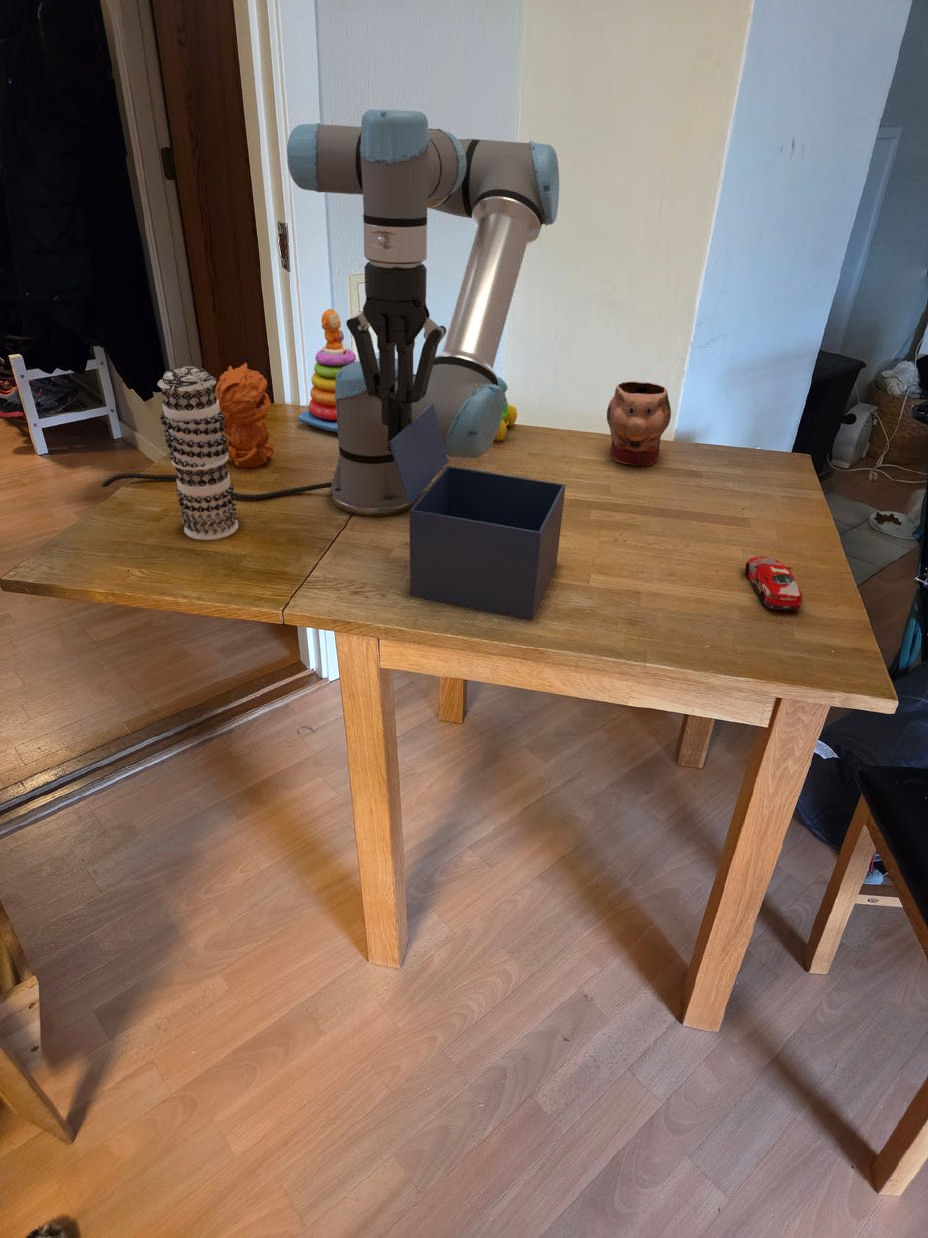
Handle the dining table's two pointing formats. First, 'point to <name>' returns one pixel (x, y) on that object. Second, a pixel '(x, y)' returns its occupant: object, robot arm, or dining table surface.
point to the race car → (774, 583)
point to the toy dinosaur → (245, 415)
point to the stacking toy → (327, 375)
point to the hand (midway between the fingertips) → (396, 448)
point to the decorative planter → (638, 422)
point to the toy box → (485, 541)
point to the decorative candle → (198, 452)
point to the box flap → (419, 453)
